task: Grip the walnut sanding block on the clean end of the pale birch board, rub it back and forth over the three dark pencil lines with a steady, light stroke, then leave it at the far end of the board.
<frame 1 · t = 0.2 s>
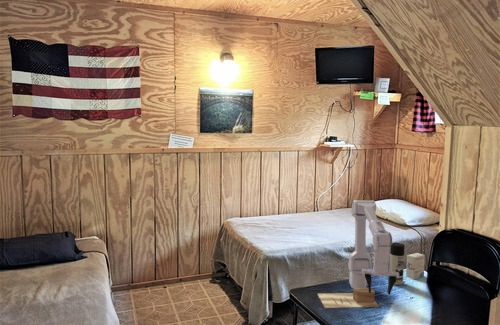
hand: (379, 292, 167), 10 cm above the table, tool pointing down, fingers open, 7 cm apart
ink box: (414, 276, 211), on the table
sanding block: (363, 300, 178), point 1 cm above the table, touching board
spray can: (395, 283, 202), on the table
board: (347, 303, 178), on the table
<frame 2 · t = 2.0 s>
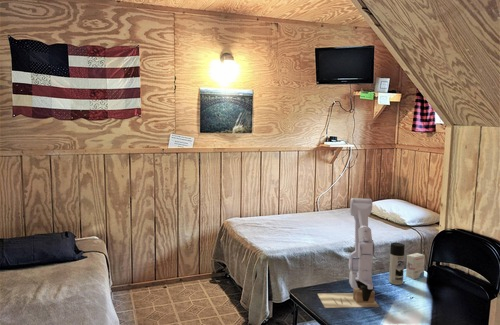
hand: (363, 298, 177), 3 cm above the table, tool pointing down, fingers closed on sanding block, 4 cm apart
sanding block: (363, 300, 178), point 1 cm above the table, touching board, gripper
everything else where it was.
when the fingers open (3 cm above the table, at t = 12.6 s): sanding block stays where it is, resting on board.
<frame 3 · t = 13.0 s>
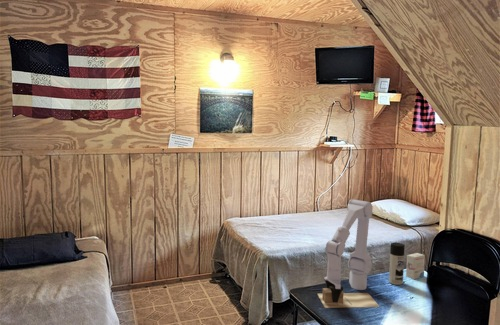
hand: (332, 298, 176), 3 cm above the table, tool pointing down, fingers open, 7 cm apart
sanding block: (332, 301, 177), point 2 cm above the table, touching board
everything else where it was.
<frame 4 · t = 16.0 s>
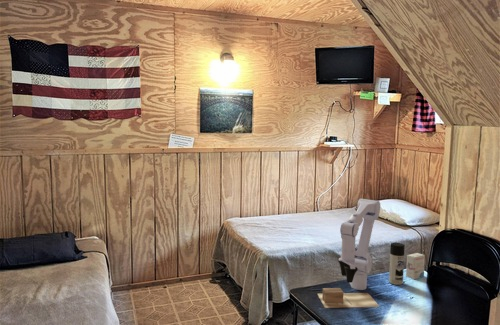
hand: (346, 278, 179), 10 cm above the table, tool pointing down, fingers open, 7 cm apart
nothing on the table moved.
at the end: sanding block 0.0 cm from the target spot on the board, point 1.5 cm above the board's base; sanding block tilted 0°; sanding block touching board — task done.
